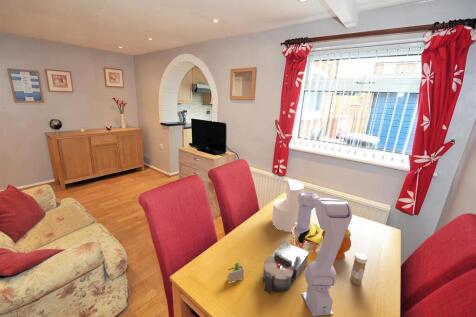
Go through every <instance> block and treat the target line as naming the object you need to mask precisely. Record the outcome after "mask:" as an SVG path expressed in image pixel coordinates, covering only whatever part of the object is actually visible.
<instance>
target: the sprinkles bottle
mask: <svg viewBox="0 0 476 317" xmlns="http://www.w3.org/2000/svg"><path fill="white" fill-rule="evenodd" d="M367 262H368V257H367V256H366V254H364V253H362V252H356V253H355V254H354V259H353V266H352V268H351V275H350V277H349V281H350V282H351V283H352V284H354V285H356V286H361V285H362V280H363V277H364V274H365V270H366V266H367V265H366V264H367Z"/></svg>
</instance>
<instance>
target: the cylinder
mask: <svg viewBox="0 0 476 317" xmlns="http://www.w3.org/2000/svg"><path fill="white" fill-rule="evenodd" d="M286 185H287V186H286V197H285V198H279V199H276V200H274V201H273V206H272V219H271V223H272V222H273V224H274V225H275V226H276V227H277V228H279V229H281V230H284V231H289V232H288V233H291V232H290V231H291V229H292V228H293V227H294V226H295V225H294V223H295V222H297V219H298V210H299V204H298V195H299V194H300V193H304V188H305V185H304V184H303V183H302V182H300V181H297V180H294V179H289V178H288V179H287V184H286ZM284 231H283V232H284Z"/></svg>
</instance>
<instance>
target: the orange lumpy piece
mask: <svg viewBox="0 0 476 317" xmlns="http://www.w3.org/2000/svg"><path fill="white" fill-rule="evenodd" d="M325 233H326V232H325V231H324V230H322V232H321V237H322V236H323V238H324V236H325ZM351 236H352V234H351V231H350V229H349V228H348V229H347V230H345V234H344V238H343V241H342V243H341V246H340V248H339V250H338V253H337V255H336V258H335V260H337V261H338V262H339V261H341V260H344V259H345V258H346V255H345V253H347V252H348V251H350V249H351V247H352V239H351Z"/></svg>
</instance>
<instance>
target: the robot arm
mask: <svg viewBox="0 0 476 317" xmlns="http://www.w3.org/2000/svg"><path fill="white" fill-rule="evenodd" d="M298 204H299V210H298V219H297V222H295V223H294V225H296V229H295V231H294V237H297V241H298V243H299V244H302V245H303V244H304V242H305V241H306V237H307V235H308V234H309V233H310V226H311V225H310V224H311V216H312V210H313V209H315V210H314V211H315V215H316V219H317V222H318V225H319V228H320V230H322V231H323V230H324V231H325V232H326V233H325V236H324V238H323V241H322V240H321V245H320V248H319V250H318V253H317V257H316V259H315V260H314V261H310V262H309V263H307V264H308V265H305V267H304V278H305V282H306V283H307V289H306V291H304V292H301V295H302V297H303V299H304V301H305V303H306V305H307V308H308V309H309V312H310V314H311V315H312V317H319V316H327V315H333V310H332V308H333V302H334V301H333V297H332V296H331V294H330V290H329V289H331V287H333V286H335V284H336V279H337V278H336V277H337V272H336V269H335V267H334V262H335V260H336V259H335V258H336V255H337V253H338V250H339V248H340V246H341V243H342V241H343V238H344V234H345V230H347V229H349V227H350V224H351V221H352V219H353V214H352V212H353V211H352V207H351V206H350V204H349V202H348V201H345V200H341V199H336V198H330V197H320V196H319V195H317V194H316V192H306V193H304V192H303V193H300V194H299V195H298Z"/></svg>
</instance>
